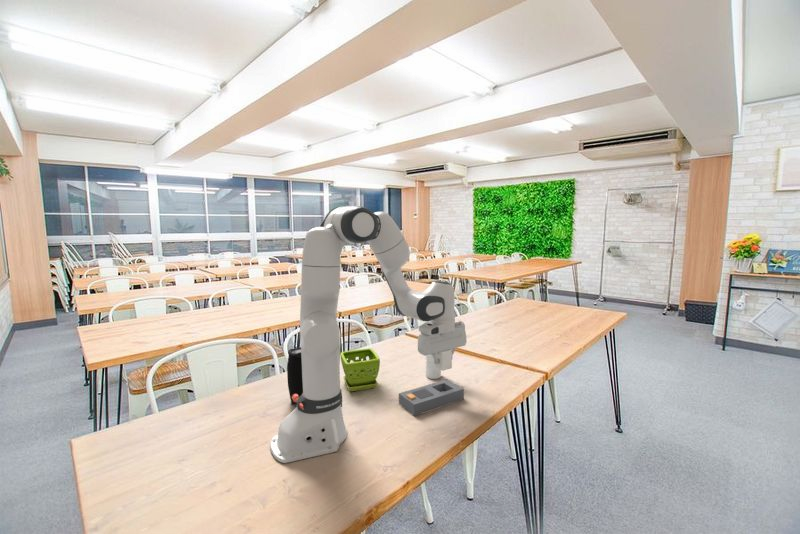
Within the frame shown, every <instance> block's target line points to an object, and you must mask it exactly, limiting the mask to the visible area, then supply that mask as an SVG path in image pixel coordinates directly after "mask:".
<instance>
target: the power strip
mask: <svg viewBox="0 0 800 534" xmlns="http://www.w3.org/2000/svg"><path fill="white" fill-rule="evenodd" d="M463 400H465V389H464V388H463V387H461V386H459V385H458V384H456V383H454V382H452V381H451V380H449V379H447V378H446V379H443V380H440V381H437V382H433V383H430V384H429V383H428V384H425V385H423V386H419V387H416V388H412V389H409V390H405V391H402V392H398V405H400V406H401V407H402V408H404V409H405V410H406V411H408V412H409V413H410V414H411V415H413V416H414V417H415V416H418V414H419V415H422V414H425V413H426V412H431V411H434V410H436V409H439V408H442V407H445V406H448V405H451V404H454V403H457V402H460V401H463ZM421 413H422V414H421Z"/></svg>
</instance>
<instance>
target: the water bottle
mask: <svg viewBox="0 0 800 534" xmlns="http://www.w3.org/2000/svg"><path fill="white" fill-rule="evenodd" d="M441 375H442V370H440V369H438V368H436V367H435V363H434V358H433V357H432V355H431V354H429V355H426V356H425V377H426V378H427V379H430V380H437V379H441Z"/></svg>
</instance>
